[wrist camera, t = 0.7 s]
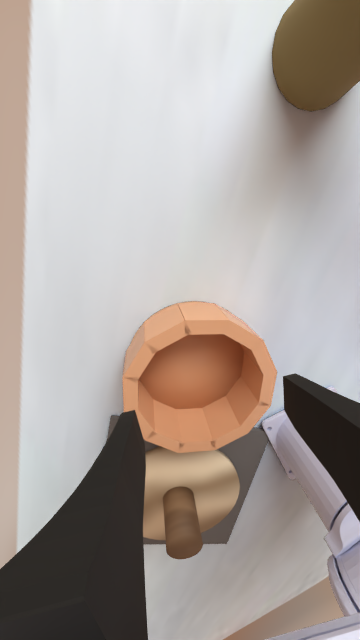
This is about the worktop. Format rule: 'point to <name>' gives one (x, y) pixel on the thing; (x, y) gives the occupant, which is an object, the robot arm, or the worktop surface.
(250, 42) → the worktop surface
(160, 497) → the lid
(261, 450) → the mat
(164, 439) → the bowl
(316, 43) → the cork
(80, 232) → the worktop surface
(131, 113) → the worktop surface
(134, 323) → the worktop surface
